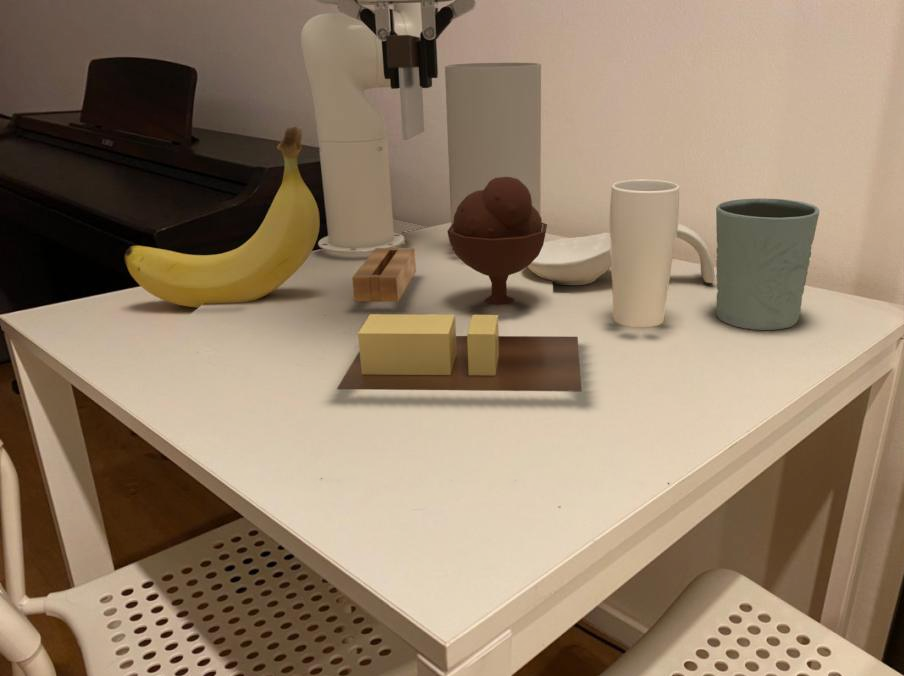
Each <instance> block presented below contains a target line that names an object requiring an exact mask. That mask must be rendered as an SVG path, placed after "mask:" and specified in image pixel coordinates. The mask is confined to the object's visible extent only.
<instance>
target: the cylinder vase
mask: <svg viewBox="0 0 904 676" xmlns="http://www.w3.org/2000/svg"><path fill="white" fill-rule="evenodd" d="M444 79H445V81H444V82H445V102H446V103H445V105H446V130H447V152H448V154H447V155H448V177H449V181H448V182H449V203H450V205H449V207H450V226H451V225H452V224H453V221H454V215H455V213H456V210H457V207H458V206H459V205H460V203H461V202H462V201H463V200H464V199H465V197H466V196H467V195H469V194H471V193H473V192H475V191H479V190H484V189H485V187H486V186H487V185H488V183H489V182H490V181H491V180H492V179H494V178H499V177H512V178H516V179H519V180H520V181H521V182H522V183H523V184H524V185H525V186H526V187H527V188H528V190H529V192H530V194H531V200H532V206H533V207H534V208H535V209H536V210H537V211H538V213H539V214H540V215H541V210H542V209H541V205H542V203H541V199H542V197H541V193H542V192H541V191H542V189H541V188H542V186H541V184H542V183H541V181H542V179H541V178H542V177H541V175H542V174H541V173H542V167H541V165H542V163H541V162H542V63H538V62H472V63H471V62H470V63H469V62H468V63H453V64H445V65H444ZM451 248H452V247H451ZM452 250H453V248H452Z"/></svg>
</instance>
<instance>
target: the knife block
mask: <svg viewBox="0 0 904 676" xmlns="http://www.w3.org/2000/svg"><path fill="white" fill-rule="evenodd" d="M416 267H417V266H416V249H415V247H393V248H375V250H374V251H371V253H370V254H369V256H368V257H367V259H366V260H365V261H364V262H363V263H362V264H361V266H360V267H359V269H358V270H357V271H356V272H355V273H354V275H353V276H352V277H351V278H352V290H353V299H354V300H353V301H354V302H399V300H400V299H401V298H402V297H403V295H404V293H406V290H407V288H408V286H409V285H410V283H411V281H412V279H413V277H414V276H415V274H416V272H417V268H416Z"/></svg>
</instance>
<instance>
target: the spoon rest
mask: <svg viewBox="0 0 904 676" xmlns="http://www.w3.org/2000/svg"><path fill="white" fill-rule="evenodd" d="M676 238H678V239H680V240H682V241H684V242H686V243H687V244H689V245H690V246H691V247H693V249H694V250H695V251H696V253H697V254H698V257H699V261H700V275H701V278H702V280H703V281H704V282H705V283H706V284H707V283H708V284H712V283H714V281H715V266H714V261H713V257H712V255H711V253H710V251H709V249H708V247H707V244H706V243H705V241H704V240H703V238H702V236H700V235H699V234H698V233H697V232H695V231H694V230H692V229H691V228H689V227H687V226H685V225H683V224H680V223H678V228H677V235H676ZM527 267H528V269H529V270H530V271H531V272H532V273H533V274H535V275H536V276H537V277H540V278H541V279H545V280H549V281H552V283H553V284H556V285H561V286H583V285H589V284H592V283H594V282H596V281H597V280H598V279H599V277H601V276H602V275H604V274H605V273H606V272H607V271H608V270H609V269H611V252H610V231H608V232H603V233H597V234H591V235H585V236H584V235H583V236H576V237H566V238H559V239H553V240H548V241H544V244H543V247H542V249H541V251H540V253H539V255H538V257H537V258H536V259H535V260H534V261H533V262H532V263H531V264H530V265H529V266H527Z"/></svg>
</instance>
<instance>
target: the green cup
mask: <svg viewBox="0 0 904 676" xmlns="http://www.w3.org/2000/svg"><path fill="white" fill-rule="evenodd" d="M819 215H820V209H819V208H818V207H817V206H816V205H814V204H811V203H808V202H805V201H799V200H792V199H783V198H741V199H734V200H727V201H723V202H721V203H719V204H717V206H716V208H715V218H716V220H715V221H716V223H715V224H716V228H715V229H716V230H715V231H716V261H715V263H716V264H715V265H716V290H717V294H716V316H717V318H718V319H719V320H720V321H722V322H723V323H725V324H728V325H730V326H734V327H736V328H740V329H741V328H742V329H746V330H752V331H753V330H754V331H776V330H777V331H778V330H785V329H790V328H791V327H793V326H795V325H796V324H797V323H798V320H799V318H800V314H801V308H802V301H803V295H804V292H805V287H806V283H807V276H808V273H809V272H808V271H809V266H810V258H811V257H812V246H813V243H814V240H815V236H816V231H817V225H818V220H819Z"/></svg>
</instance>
